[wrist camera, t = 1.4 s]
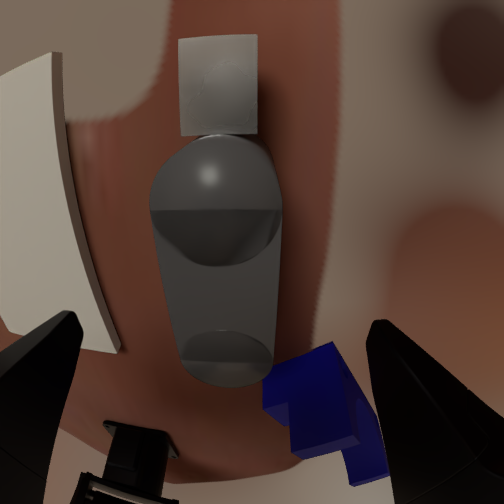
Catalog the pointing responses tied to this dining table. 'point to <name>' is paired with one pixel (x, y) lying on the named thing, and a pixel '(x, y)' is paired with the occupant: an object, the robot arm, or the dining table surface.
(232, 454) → the dining table surface
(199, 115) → the connector
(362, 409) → the cable clip
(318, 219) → the dining table surface
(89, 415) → the dining table surface
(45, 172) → the mat
